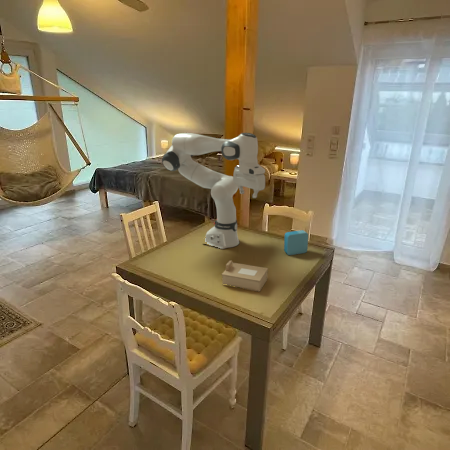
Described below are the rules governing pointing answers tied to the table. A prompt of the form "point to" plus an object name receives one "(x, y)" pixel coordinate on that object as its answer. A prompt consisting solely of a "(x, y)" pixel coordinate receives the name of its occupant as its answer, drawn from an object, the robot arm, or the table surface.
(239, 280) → the box
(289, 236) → the data package
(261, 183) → the robot arm
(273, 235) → the table surface
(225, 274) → the lid
